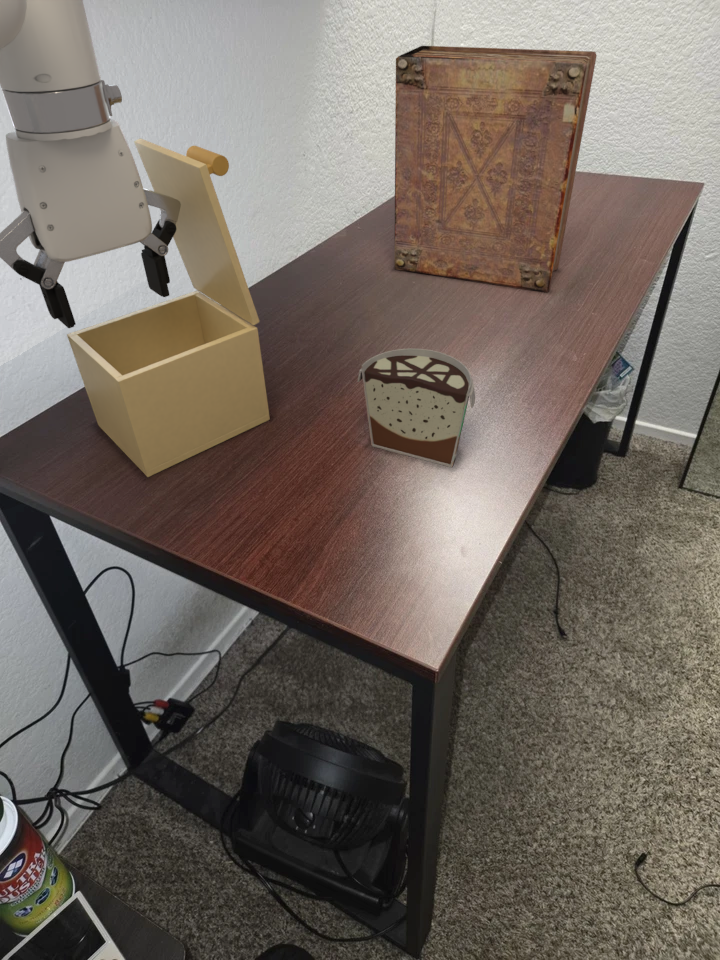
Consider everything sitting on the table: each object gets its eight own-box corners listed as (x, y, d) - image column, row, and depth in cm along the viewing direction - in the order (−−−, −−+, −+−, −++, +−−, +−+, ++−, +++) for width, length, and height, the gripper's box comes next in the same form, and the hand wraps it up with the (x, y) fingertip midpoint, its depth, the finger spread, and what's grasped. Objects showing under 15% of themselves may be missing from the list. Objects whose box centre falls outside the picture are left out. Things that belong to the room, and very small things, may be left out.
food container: (483, 438, 73) (492, 359, 66) (465, 471, 69) (474, 390, 62) (381, 413, 77) (381, 336, 71) (359, 442, 73) (356, 364, 66)
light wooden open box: (147, 477, 69) (118, 381, 62) (98, 425, 77) (66, 334, 69) (270, 419, 77) (257, 327, 69) (214, 377, 84) (197, 290, 76)
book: (559, 269, 107) (599, 51, 87) (548, 293, 100) (588, 63, 81) (412, 249, 115) (418, 45, 95) (393, 269, 108) (395, 55, 89)
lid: (198, 167, 57) (243, 145, 58) (133, 141, 64) (174, 122, 66) (254, 325, 69) (289, 303, 70) (193, 288, 76) (227, 268, 78)
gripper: (137, 88, 60) (175, 271, 71) (-68, 120, 51) (12, 321, 62) (177, 100, 55) (211, 293, 66) (-40, 137, 47) (40, 350, 58)
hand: (114, 307), depth 64 cm, fingers open, 9 cm apart
